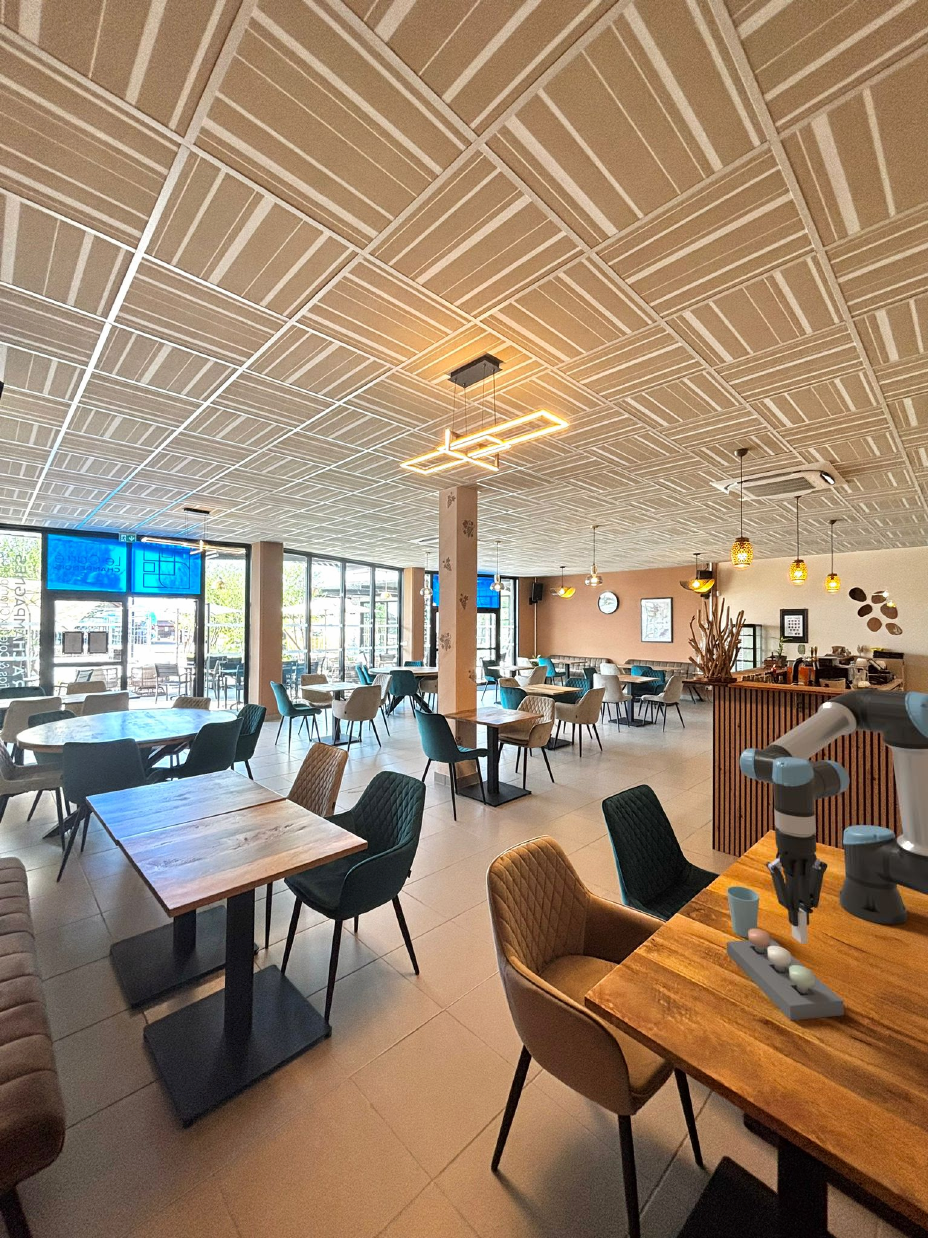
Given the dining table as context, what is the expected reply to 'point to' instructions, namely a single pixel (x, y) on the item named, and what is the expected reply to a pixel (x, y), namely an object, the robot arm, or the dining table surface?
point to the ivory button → (779, 957)
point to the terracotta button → (759, 939)
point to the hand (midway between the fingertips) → (799, 939)
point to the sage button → (802, 978)
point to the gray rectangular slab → (784, 984)
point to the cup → (743, 909)
